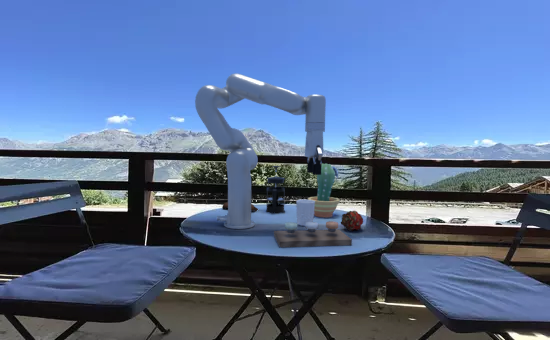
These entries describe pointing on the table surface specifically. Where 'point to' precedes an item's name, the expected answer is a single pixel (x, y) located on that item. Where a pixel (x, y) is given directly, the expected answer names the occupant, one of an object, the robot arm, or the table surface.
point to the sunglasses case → (251, 207)
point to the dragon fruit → (352, 220)
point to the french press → (275, 195)
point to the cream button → (311, 226)
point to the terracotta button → (331, 226)
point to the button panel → (311, 238)
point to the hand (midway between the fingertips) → (313, 173)
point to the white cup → (305, 211)
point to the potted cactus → (325, 192)
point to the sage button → (290, 227)
